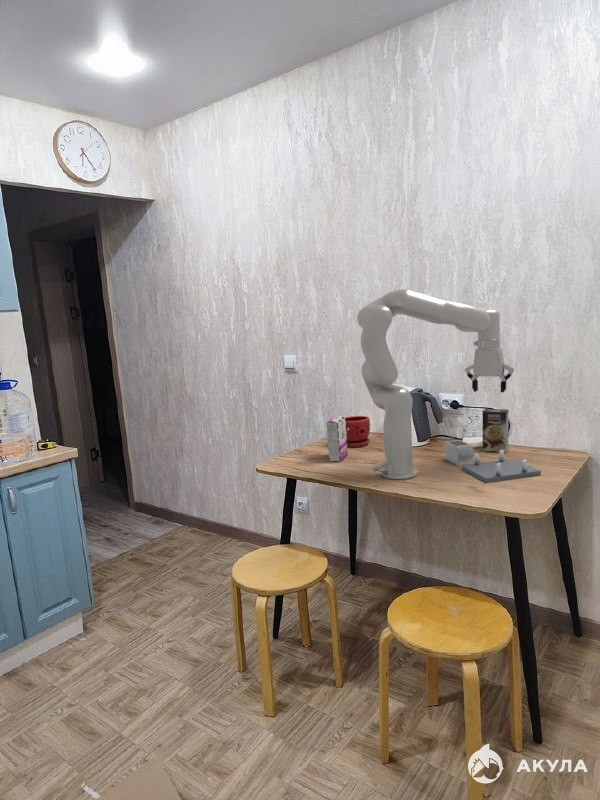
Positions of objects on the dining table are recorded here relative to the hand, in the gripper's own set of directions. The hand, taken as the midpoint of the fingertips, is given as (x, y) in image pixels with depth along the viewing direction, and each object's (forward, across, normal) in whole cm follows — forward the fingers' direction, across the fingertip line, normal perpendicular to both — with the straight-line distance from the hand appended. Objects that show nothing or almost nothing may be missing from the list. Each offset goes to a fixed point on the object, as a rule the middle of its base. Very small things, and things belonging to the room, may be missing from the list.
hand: (489, 391), depth 199 cm
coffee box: (+26, -2, +15) cm, 30 cm away
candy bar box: (+26, -55, -17) cm, 63 cm away
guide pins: (+24, +7, -14) cm, 29 cm away
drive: (+26, -10, -5) cm, 28 cm away
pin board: (+26, +7, -14) cm, 30 cm away
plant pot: (+26, -59, +5) cm, 65 cm away
